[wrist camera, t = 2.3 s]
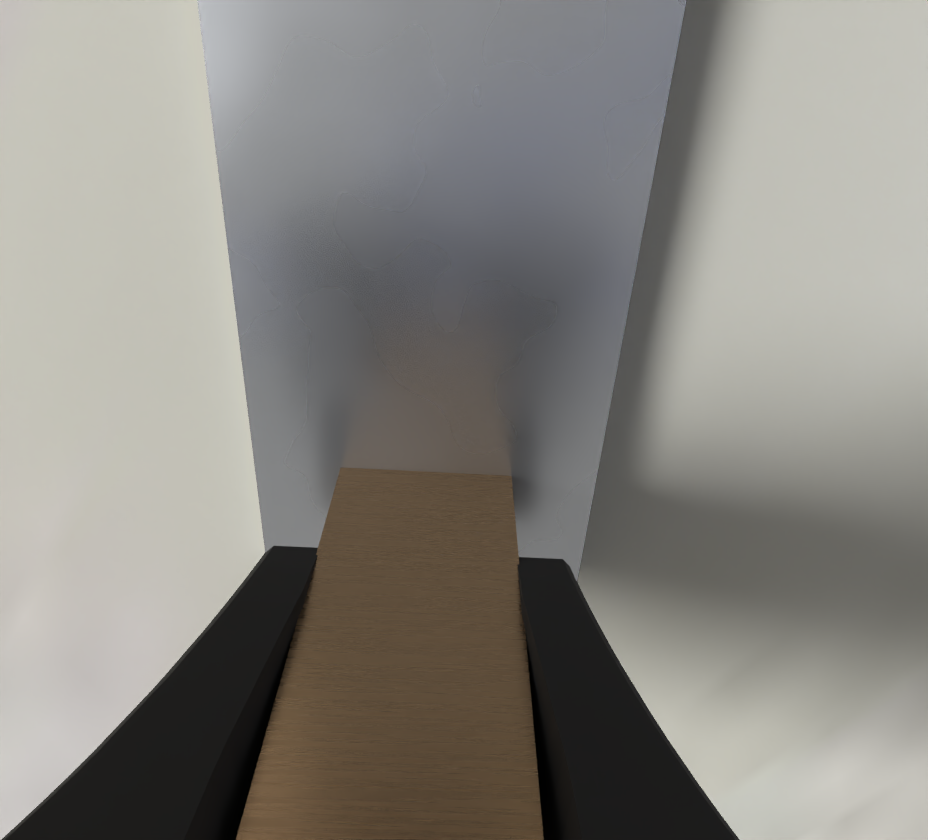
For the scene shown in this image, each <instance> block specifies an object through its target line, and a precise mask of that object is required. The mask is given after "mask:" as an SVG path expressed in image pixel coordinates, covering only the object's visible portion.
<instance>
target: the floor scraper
mask: <svg viewBox="0 0 928 840" xmlns="http://www.w3.org/2000/svg"><path fill="white" fill-rule="evenodd" d="M197 1H198V9H199V18H200V26H201V34H202V42H203V50H204V58H205V66H206V74H207V82H208V91H209V99H210V107H211V115H212V123H213V131H214V139H215V147H216V156H217V164H218V172H219V180H220V188H221V196H222V204H223V212H224V220H225V229H226V237H227V245H228V253H229V261H230V269H231V277H232V285H233V294H234V302H235V310H236V318H237V326H238V334H239V342H240V350H241V359H242V367H243V375H244V383H245V391H246V399H247V407H248V415H249V423H250V432H251V440H252V448H253V456H254V464H255V472H256V480H257V488H258V497H259V505H260V513H261V521H262V529H263V537H264V545H265V552H266V551H268V550H269V549H270V548H272V547H273V546H293V547H315V548H318V549H317V553H316V555H318V556H317V559H316V563H315V567H314V570H313V574H312V577H311V581H310V585H309V588H308V592H307V595H306V599H305V603H304V605H303V608H302V610H301V613H300V615H299V618H298V620H297V624H296V627H295V631H294V634H293V638H292V642H291V645H290V649H289V652H288V656H287V659H286V663H285V666H284V670H283V674H282V677H281V681H280V684H279V688H278V691H277V695H276V698H275V702H274V705H273V709H272V713H271V716H270V720H269V723H268V727H267V730H266V734H265V737H264V741H263V745H262V748H261V752H260V755H259V759H258V762H257V766H256V769H255V773H254V776H253V780H252V784H251V787H250V791H249V794H248V798H247V801H246V805H245V808H244V812H243V816H242V819H241V823H240V826H239V830H238V833H237V837H236V840H544V838H543V826H542V815H541V804H540V792H539V781H538V770H537V758H536V747H535V736H534V724H533V713H532V702H531V690H530V679H529V668H528V656H527V645H526V634H525V627H524V623H523V618H522V612H521V600H520V588H519V577H518V565H517V564H519V557H530V558H552V559H563V560H564V561H565V562H566V563H567V564H568V565H569V566H570V568H571V570H572V572H573V574H574V577H575V579H576V581H577V580H578V575H579V570H580V564H581V559H582V554H583V548H584V543H585V538H586V532H587V527H588V522H589V516H590V511H591V506H592V500H593V495H594V490H595V484H596V479H597V474H598V469H599V463H600V458H601V453H602V447H603V442H604V437H605V431H606V426H607V421H608V415H609V410H610V405H611V399H612V394H613V389H614V383H615V378H616V373H617V367H618V362H619V357H620V352H621V346H622V341H623V336H624V330H625V325H626V320H627V314H628V309H629V304H630V298H631V293H632V288H633V282H634V277H635V272H636V266H637V261H638V256H639V250H640V245H641V240H642V235H643V229H644V224H645V219H646V213H647V208H648V203H649V197H650V192H651V187H652V181H653V176H654V171H655V165H656V160H657V155H658V149H659V144H660V139H661V134H662V128H663V123H664V118H665V112H666V107H667V102H668V96H669V91H670V86H671V80H672V75H673V70H674V64H675V59H676V54H677V48H678V43H679V38H680V32H681V27H682V22H683V17H684V11H685V6H686V1H687V0H197Z"/></svg>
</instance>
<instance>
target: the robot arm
mask: <svg viewBox="0 0 928 840" xmlns="http://www.w3.org/2000/svg"><path fill="white" fill-rule="evenodd" d="M317 549H318V548H315V547H293V546H273V547H272V548H270V549H269V550H268V551H266V552H265V554H264V555H263V556H262V558H261V559H260V560H259V562H258V563H257V564H256V566H255V567H254V568H253V570H252V571H251V572H250V574H249V575H248V576H247V578H246V579H245V580H244V582H243V583H242V584H241V585H240V587H239V588H238V589H237V590H236V592H235V593H234V594H233V596H232V597H231V598H230V599H229V601H228V602H227V603H226V604H225V606H224V607H223V608H222V609H221V610H220V612H219V613H218V614H217V615H216V617H215V618H214V619H213V620H212V621H211V623H210V624H209V625H208V626H207V628H206V629H205V630H204V631H203V632H202V633H201V635H200V636H199V637H198V638H197V639H196V640H195V642H194V643H193V644H192V645H191V646H190V647H189V648H188V650H187V651H186V652H185V653H184V654H183V655H182V657H181V658H180V659H179V660H178V661H177V662H176V664H175V665H174V666H173V667H172V668H171V669H170V670H169V672H168V673H167V674H166V675H165V676H164V677H163V678H162V680H161V681H160V682H159V683H158V684H157V685H156V686H155V687H154V688H153V690H152V691H151V692H150V693H149V694H148V695H147V696H146V697H145V698H144V699H143V700H142V701H141V702H140V703H139V704H138V705H137V707H136V708H135V709H134V710H133V711H132V712H131V713H130V714H129V715H128V716H127V717H126V718H125V719H124V720H123V721H122V722H121V723H120V724H119V726H118V727H117V728H116V729H115V730H114V731H113V732H112V733H111V734H110V735H109V736H108V737H107V738H106V739H105V740H104V741H103V742H102V743H101V744H100V746H99V747H98V748H97V749H96V750H95V751H94V752H93V753H92V754H91V755H90V756H89V757H88V758H87V759H86V760H85V761H84V762H83V763H82V764H81V765H80V766H79V767H78V768H77V769H76V770H75V771H74V772H73V773H72V774H71V775H70V776H69V777H68V778H67V779H66V780H64V781H63V782H62V783H61V784H60V785H59V786H58V787H57V788H56V789H55V790H54V791H53V792H52V793H51V794H50V795H49V796H48V797H47V798H46V799H45V800H44V801H43V802H42V803H40V804H39V805H38V806H37V807H36V808H35V809H34V810H33V811H32V812H31V813H30V814H29V815H28V816H26V817H25V818H24V819H23V820H22V821H21V822H20V823H19V824H18V825H17V826H16V827H15V828H14V829H12V830H11V831H10V832H9V833H8V834H7V835H6V836H5V837H4V838H3V839H2V840H236V837H237V833H238V830H239V826H240V823H241V819H242V816H243V812H244V808H245V805H246V801H247V798H248V794H249V791H250V787H251V784H252V780H253V776H254V773H255V769H256V766H257V762H258V759H259V755H260V752H261V748H262V745H263V741H264V737H265V734H266V730H267V727H268V723H269V720H270V716H271V713H272V709H273V705H274V702H275V698H276V695H277V691H278V688H279V684H280V681H281V677H282V674H283V670H284V666H285V663H286V659H287V656H288V652H289V649H290V645H291V642H292V638H293V634H294V631H295V627H296V624H297V620H298V618H299V615H300V613H301V610H302V608H303V605H304V603H305V599H306V595H307V592H308V588H309V585H310V581H311V577H312V574H313V570H314V567H315V563H316V559H317V556H318V555H316V553H317ZM517 565H518V577H519V588H520V600H521V612H522V618H523V623H524V627H525V634H526V645H527V656H528V668H529V679H530V690H531V702H532V713H533V724H534V736H535V747H536V758H537V770H538V781H539V792H540V804H541V815H542V826H543V838H544V840H739V839H738V837H737V836H736V835H735V833H734V832H733V831H732V829H731V828H730V827H729V825H728V824H727V823H726V821H725V820H724V819H723V817H722V816H721V815H720V813H719V812H718V811H717V809H716V808H715V806H714V805H713V804H712V802H711V801H710V799H709V798H708V797H707V795H706V794H705V793H704V791H703V790H702V788H701V787H700V786H699V784H698V783H697V781H696V780H695V778H694V777H693V776H692V774H691V773H690V771H689V770H688V768H687V767H686V765H685V764H684V762H683V761H682V759H681V758H680V757H679V755H678V754H677V752H676V751H675V749H674V748H673V746H672V745H671V743H670V742H669V740H668V739H667V737H666V736H665V734H664V733H663V731H662V730H661V728H660V727H659V725H658V724H657V722H656V720H655V719H654V717H653V716H652V714H651V713H650V711H649V709H648V708H647V706H646V705H645V703H644V701H643V700H642V698H641V696H640V695H639V693H638V692H637V690H636V688H635V687H634V685H633V683H632V682H631V680H630V678H629V677H628V675H627V674H626V672H625V670H624V669H623V667H622V665H621V664H620V662H619V660H618V658H617V657H616V655H615V653H614V651H613V650H612V648H611V646H610V644H609V643H608V641H607V639H606V637H605V635H604V633H603V632H602V630H601V628H600V626H599V624H598V623H597V621H596V619H595V617H594V615H593V613H592V611H591V609H590V607H589V605H588V603H587V601H586V599H585V597H584V595H583V593H582V591H581V589H580V587H579V585H578V583H577V581H576V579H575V577H574V574H573V572H572V570H571V568H570V566H569V565H568V564H567V563H566V562H565V561H564V560H563V559H552V558H530V557H519V564H517Z"/></svg>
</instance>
